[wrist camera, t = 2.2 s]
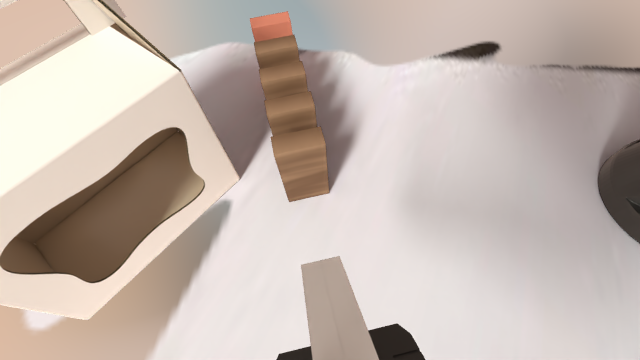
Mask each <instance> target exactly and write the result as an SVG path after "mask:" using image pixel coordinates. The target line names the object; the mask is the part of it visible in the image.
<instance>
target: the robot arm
mask: <svg viewBox="0 0 640 360" xmlns="http://www.w3.org/2000/svg"><path fill="white" fill-rule="evenodd" d="M599 190H600V194H601V197H602V200H603V202H604V204H605V206H606V208H607V209H608V211H609V213H610V214H611V216H612V217H613V218H614V220H615V221H616V222H617V223H618V224H619V225H620V226H621V227H622V229H623V230H624V231H626V232H627V233H628V234H629V235H630V236H631V237H632V238H633V239H635V240H636V241H637V242H639V243H640V140H637V141H634V142H632V143H630V144H628V145H626V146H625V147H623V148H622V149H620V150H619V151H618V152H616V153H615V154H614V155H612V156H611V157H610V158H609V159H608V160H607V161H606V162H605V163H604V164H603V166H602V168H601V170H600V174H599ZM301 269H302V277H303V285H304V293H305V302H306V310H307V318H308V326H309V334H310V342H311V346H310V347H306V348H302V349H297V350H293V351H289V352H285V353H281V354H279V355H278V358H277V360H425V358H424V356H423V355H422V353H421V352H420V350H419V348H418V346H417V344H416V342H415V340H414V339H413V337H412V335H411V334H410V333H409V332H408V331H406V330H405V329H404V328H402V327H401V326H400V325H399V324H393V325H389V326H385V327H381V328H377V329H373V330H369V331H368V329H367V327H366V324H365V322H364V319H363V316H362V314H361V311H360V309H359V306H358V303H357V301H356V298H355V296H354V293H353V290H352V288H351V285H350V283H349V280H348V277H347V275H346V272H345V270H344V267H343V264H342V262H341V259H340V257H339V256H338V257H333V258H329V259H325V260H320V261H316V262H312V263H307V264H303V265H301Z"/></svg>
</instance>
